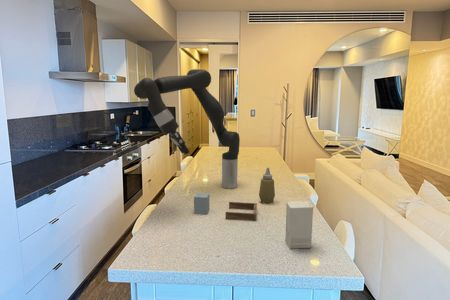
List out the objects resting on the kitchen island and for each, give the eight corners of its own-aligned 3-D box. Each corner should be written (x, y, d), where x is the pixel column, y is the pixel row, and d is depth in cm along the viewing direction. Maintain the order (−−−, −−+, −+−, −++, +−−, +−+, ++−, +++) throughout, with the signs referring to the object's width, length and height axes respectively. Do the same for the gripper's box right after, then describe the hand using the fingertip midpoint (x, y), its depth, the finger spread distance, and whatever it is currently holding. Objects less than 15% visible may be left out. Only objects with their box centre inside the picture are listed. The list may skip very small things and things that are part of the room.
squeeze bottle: (262, 205, 148) (263, 170, 145) (256, 200, 156) (257, 166, 153) (277, 204, 151) (278, 169, 147) (270, 199, 158) (272, 165, 155)
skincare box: (306, 240, 112) (308, 200, 110) (311, 249, 106) (314, 207, 103) (284, 240, 112) (286, 200, 109) (288, 249, 106) (290, 207, 103)
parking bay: (229, 207, 145) (229, 201, 144) (256, 209, 143) (256, 203, 143) (225, 219, 131) (225, 212, 131) (255, 221, 129) (255, 214, 129)
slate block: (197, 209, 143) (196, 192, 142) (209, 209, 142) (209, 193, 141) (194, 213, 137) (194, 196, 136) (207, 214, 136) (207, 197, 135)
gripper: (175, 116, 125) (196, 149, 128) (171, 118, 138) (189, 147, 142) (160, 125, 123) (181, 158, 126) (157, 126, 137) (176, 156, 140)
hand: (185, 152), depth 134 cm, fingers open, 8 cm apart
